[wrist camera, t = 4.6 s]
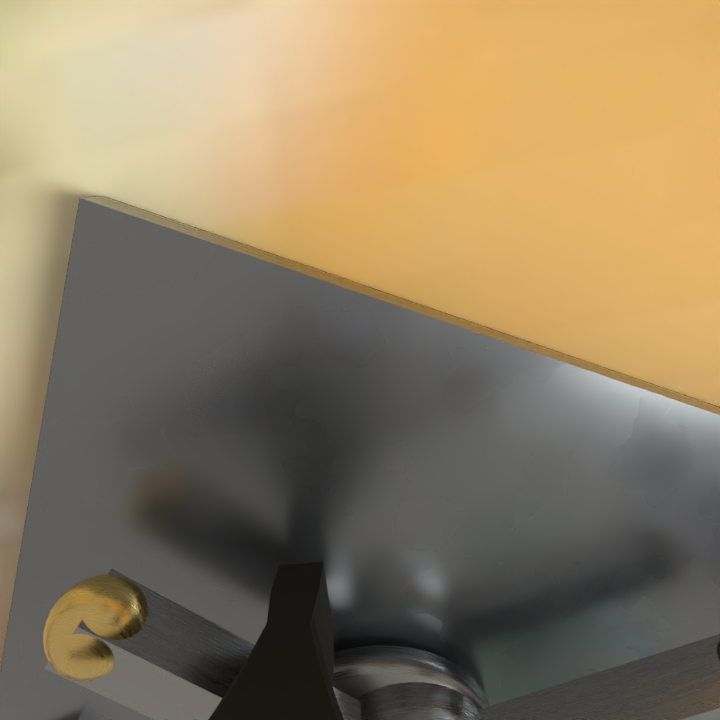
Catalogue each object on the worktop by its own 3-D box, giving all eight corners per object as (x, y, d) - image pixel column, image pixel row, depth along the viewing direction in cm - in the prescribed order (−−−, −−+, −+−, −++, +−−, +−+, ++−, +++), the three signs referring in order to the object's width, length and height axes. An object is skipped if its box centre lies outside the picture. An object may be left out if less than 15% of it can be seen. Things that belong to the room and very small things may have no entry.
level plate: (895, 467, 13) (979, 510, 11) (549, 907, 19) (570, 978, 17) (104, 196, 10) (56, 199, 8) (-11, 825, 16) (-52, 902, 14)
